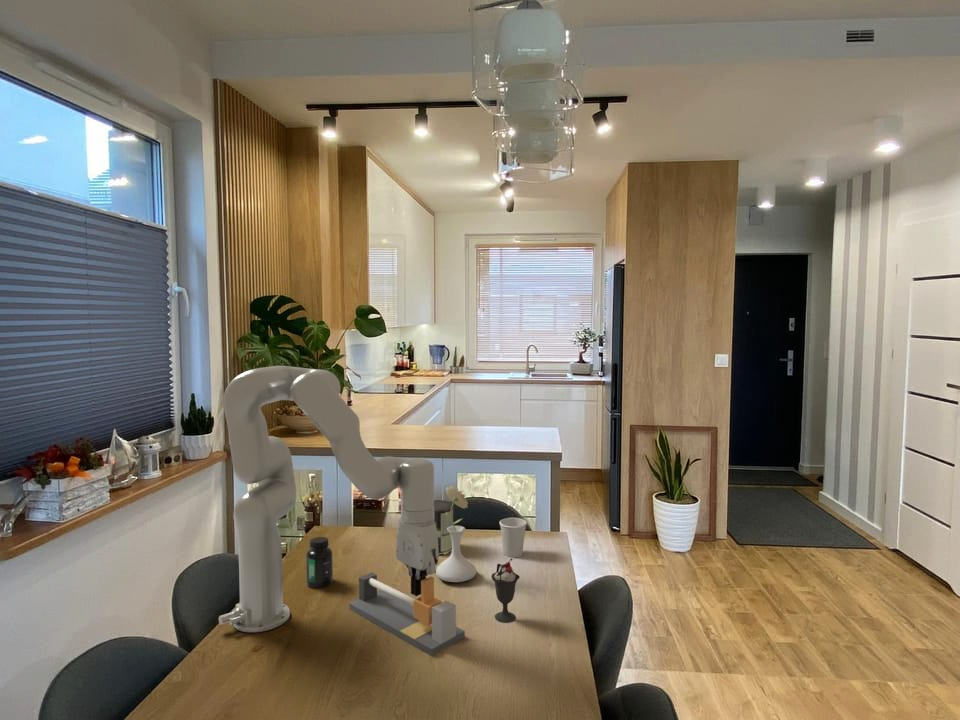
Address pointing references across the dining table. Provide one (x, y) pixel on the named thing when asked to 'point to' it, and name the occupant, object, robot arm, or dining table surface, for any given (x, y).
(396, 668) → the dining table surface
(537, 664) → the dining table surface
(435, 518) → the coffee can
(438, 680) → the dining table surface
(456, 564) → the flower in vase
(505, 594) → the sundae
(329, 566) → the supplement bottle
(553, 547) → the dining table surface
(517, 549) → the dixie cup
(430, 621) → the orange l-shaped block
